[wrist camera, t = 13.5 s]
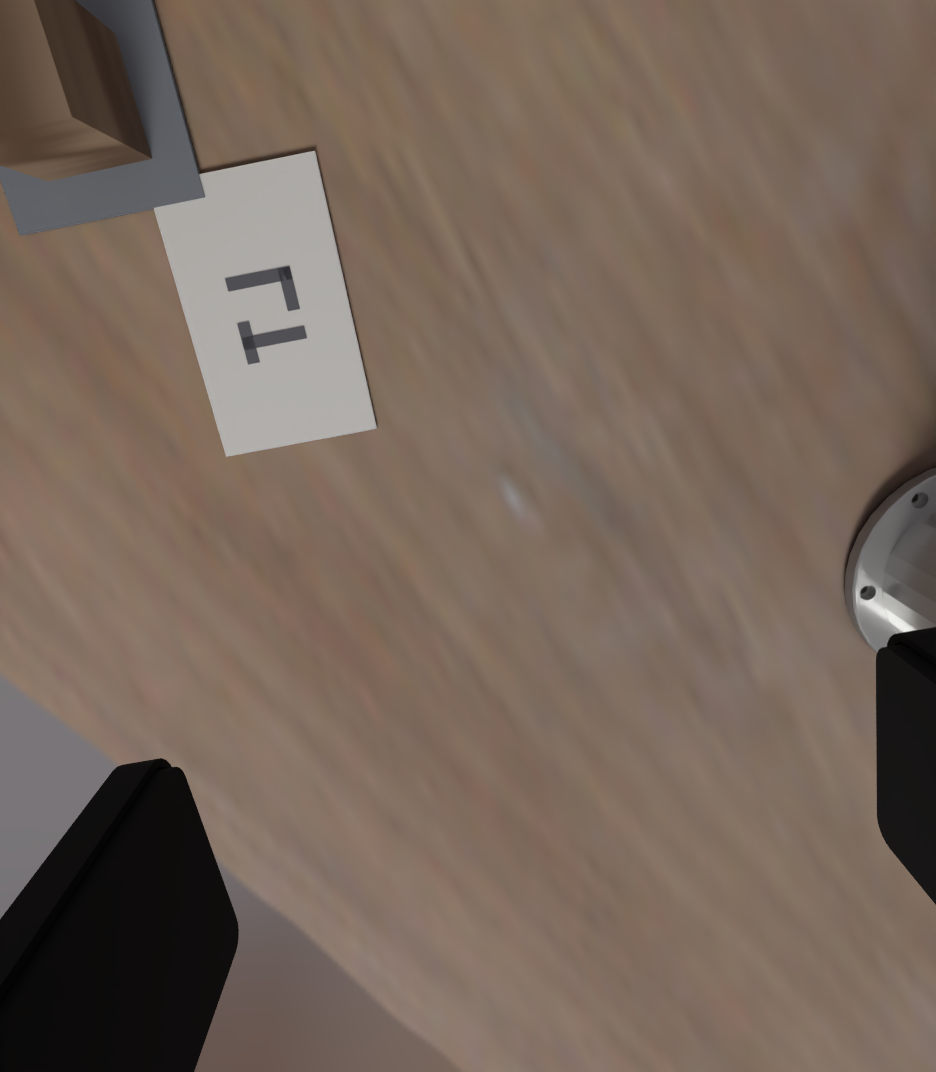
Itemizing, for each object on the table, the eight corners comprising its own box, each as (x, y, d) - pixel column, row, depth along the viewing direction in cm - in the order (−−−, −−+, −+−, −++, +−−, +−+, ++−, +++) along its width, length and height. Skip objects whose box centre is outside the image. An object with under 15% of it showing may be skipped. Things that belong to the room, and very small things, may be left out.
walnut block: (115, 33, 30) (19, -47, 24) (152, 158, 32) (72, 116, 25) (6, 57, 31) (-120, -15, 24) (48, 181, 32) (-60, 145, 25)
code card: (315, 151, 32) (314, 150, 32) (377, 427, 36) (376, 428, 36) (148, 185, 32) (146, 184, 32) (227, 456, 36) (225, 456, 36)
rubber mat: (145, -28, 30) (142, -31, 30) (206, 198, 33) (204, 197, 32) (-54, 15, 30) (-59, 12, 30) (23, 235, 33) (19, 234, 33)
